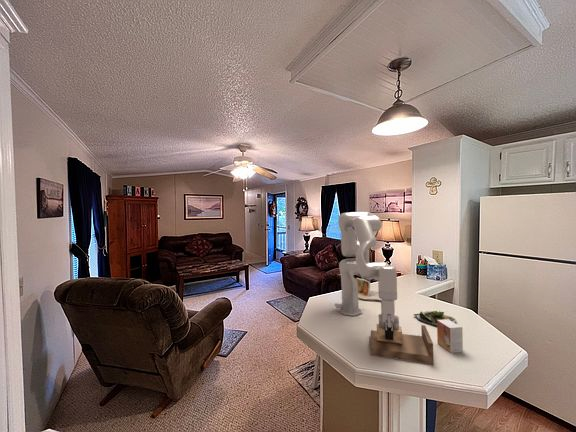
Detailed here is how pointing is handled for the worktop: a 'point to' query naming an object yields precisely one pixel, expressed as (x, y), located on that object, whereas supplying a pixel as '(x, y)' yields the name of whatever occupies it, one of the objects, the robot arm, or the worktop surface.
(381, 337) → the salt and pepper set
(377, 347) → the walnut shelf
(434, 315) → the salad plate
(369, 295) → the religious ornament
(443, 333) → the small box
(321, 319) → the worktop surface
